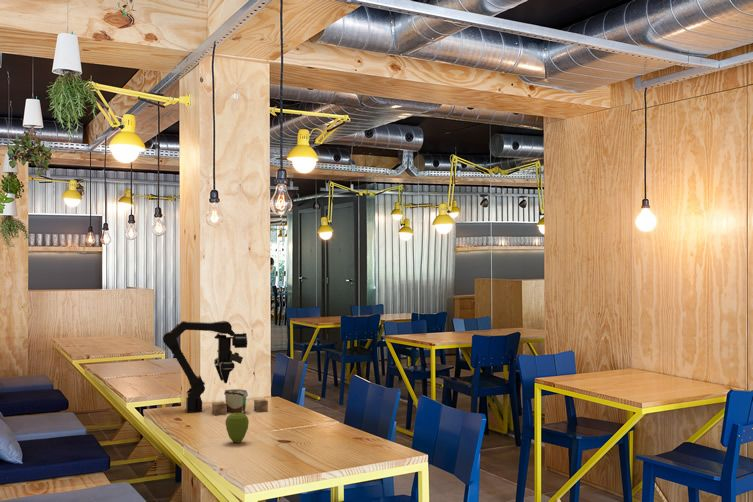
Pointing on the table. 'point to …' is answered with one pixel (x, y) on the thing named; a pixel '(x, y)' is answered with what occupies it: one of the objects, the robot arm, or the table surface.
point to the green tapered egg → (237, 426)
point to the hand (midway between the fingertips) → (223, 381)
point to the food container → (235, 400)
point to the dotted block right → (261, 405)
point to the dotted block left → (219, 408)
